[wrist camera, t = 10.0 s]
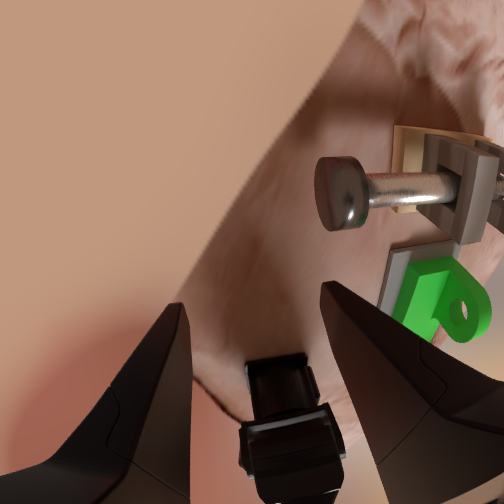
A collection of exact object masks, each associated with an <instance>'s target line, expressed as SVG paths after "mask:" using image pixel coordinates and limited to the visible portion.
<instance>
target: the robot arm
mask: <svg viewBox="0 0 504 504" xmlns="http://www.w3.org/2000/svg"><path fill="white" fill-rule="evenodd" d="M320 310H321V314H322V317H323V321H324V324H325V328H326V331H327V335H328V339H329V342H330V346H331V349H332V352H333V355H334V358H335V360H336V363H337V365H338V367H339V370H340V372H341V375H342V377H343V380H344V382H345V385H346V387H347V390H348V392H349V395H350V398H351V400H352V403H353V405H354V408H355V410H356V413H357V416H358V418H359V421H360V423H361V426H362V429H363V431H364V434H365V437H366V439H367V442H368V445H369V447H370V450H371V452H372V456H373V458H374V461H375V464H376V465H377V470H378V473H379V475H380V478H381V481H382V484H383V487H384V490H385V492H386V495H387V498H388V501H389V504H504V382H503V381H498V380H495V379H492V378H490V377H488V376H486V375H484V374H482V373H481V372H479V371H477V370H475V369H473V368H471V367H470V366H468V365H466V364H464V363H462V362H461V361H459V360H457V359H455V358H454V357H452V356H450V355H448V354H447V353H445V352H443V351H442V350H440V349H439V348H437V347H436V346H434V345H432V344H431V343H429V342H428V341H426V340H425V339H424V338H422V337H420V336H419V335H417V334H416V333H414V332H413V331H411V330H410V329H408V328H407V327H406V326H404V325H403V324H401V323H400V322H398V321H397V320H395V319H394V318H392V317H391V316H389V315H387V314H386V313H384V312H383V311H381V310H380V309H378V308H377V307H375V306H374V305H372V304H371V303H369V302H368V301H366V300H365V299H363V298H362V297H360V296H359V295H357V294H356V293H354V292H352V291H351V290H349V289H348V288H346V287H345V286H343V285H342V284H340V283H339V282H337V281H335V280H333V281H327V282H323V283H322V285H321V294H320ZM245 370H246V376H247V382H248V388H249V394H250V395H251V401H252V408H253V414H254V420H253V421H248V422H247V421H243V422H241V428H240V429H239V437H240V451H239V466H240V467H242V468H243V469H245V472H246V473H247V475H248V478H249V479H255V484H256V488H257V493H258V495H259V497H260V498H261V499H262V500H263V502H264V503H265V504H334V501H335V499H336V496H337V494H338V491H339V489H341V486H342V483H343V480H344V471H343V467H342V463H341V459H344V458H346V452H345V446H344V441H343V438H342V434H341V432H340V429H339V427H338V424H337V422H336V420H335V417H334V415H333V412H332V410H331V408H330V405H329V403H328V402H326V403H323V404H322V405H319V406H318V404H319V400H320V393H319V390H318V386H317V383H316V380H315V377H314V374H313V371H312V368H311V367H310V366H307V355H306V354H305V353H301V354H295V355H290V356H284V357H278V358H272V359H266V360H259V361H252V362H247V363H246V364H245ZM192 380H193V370H192V354H191V338H190V325H189V321H188V317H187V314H186V311H185V307H184V305H183V303H181V302H177V303H170V304H168V305H167V307H166V308H165V309H164V311H163V312H162V313H161V315H160V316H159V318H158V319H157V320H156V322H155V323H154V324H153V325H152V327H151V328H150V330H149V331H148V332H147V334H146V335H145V336H144V338H143V339H142V340H141V342H140V343H139V345H138V346H137V347H136V349H135V350H134V351H133V353H132V354H131V356H130V357H129V358H128V360H127V361H126V363H125V364H124V366H123V367H122V368H121V370H120V371H119V372H118V374H117V375H116V377H115V378H114V380H113V381H112V382H111V384H110V386H111V387H108V388H107V389H106V391H105V392H104V394H103V395H102V396H101V398H100V399H99V401H98V402H97V403H96V405H95V406H94V408H93V409H92V410H91V411H90V412H89V414H88V415H87V416H86V417H85V419H84V420H83V421H82V422H81V423H80V425H79V426H78V427H77V428H76V429H75V430H74V432H73V433H72V434H71V435H70V436H69V437H68V439H67V440H66V441H65V442H64V443H63V445H62V446H61V447H60V448H59V449H58V450H57V451H56V453H55V454H53V455H52V456H51V457H50V458H49V459H47V460H46V461H44V462H42V463H40V464H37V465H34V466H32V467H28V468H25V469H22V470H19V471H16V472H12V473H9V474H6V475H2V476H0V504H190V499H189V498H190V433H191V432H190V431H191V400H192Z"/></svg>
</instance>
